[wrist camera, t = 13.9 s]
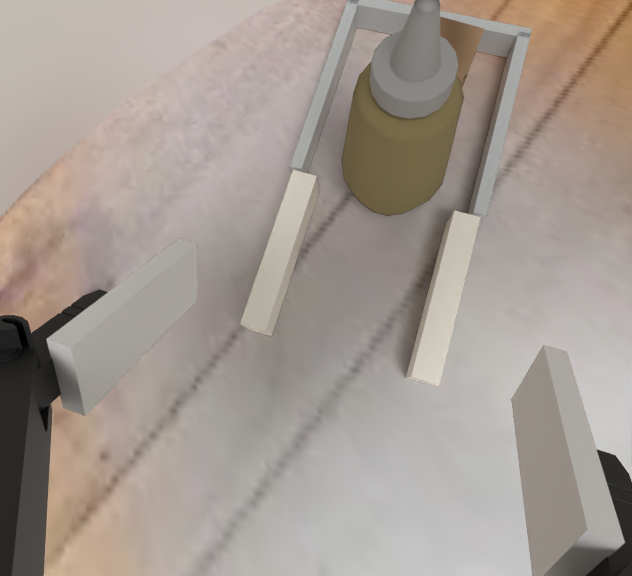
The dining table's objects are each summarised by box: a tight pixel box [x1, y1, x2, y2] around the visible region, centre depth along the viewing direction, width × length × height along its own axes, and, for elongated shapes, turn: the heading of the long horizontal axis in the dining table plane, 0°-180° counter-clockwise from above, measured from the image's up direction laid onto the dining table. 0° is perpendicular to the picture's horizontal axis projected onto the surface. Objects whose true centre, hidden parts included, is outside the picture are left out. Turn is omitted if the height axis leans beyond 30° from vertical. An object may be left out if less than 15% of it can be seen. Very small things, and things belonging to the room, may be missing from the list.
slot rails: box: [240, 170, 481, 385], centre depth 34 cm, size 15×13×3 cm
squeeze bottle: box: [342, 0, 464, 216], centre depth 29 cm, size 8×8×18 cm
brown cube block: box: [440, 17, 484, 87], centre depth 37 cm, size 4×4×4 cm
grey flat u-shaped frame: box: [290, 0, 532, 224], centre depth 37 cm, size 16×18×2 cm
